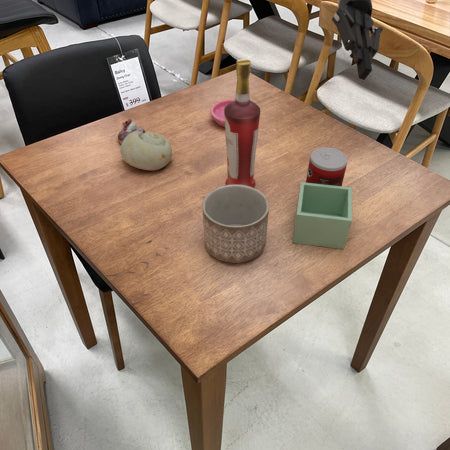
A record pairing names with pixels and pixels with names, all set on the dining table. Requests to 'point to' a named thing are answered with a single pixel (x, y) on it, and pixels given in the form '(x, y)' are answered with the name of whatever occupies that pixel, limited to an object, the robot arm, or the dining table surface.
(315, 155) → the canned food
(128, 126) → the pinkish grey lump
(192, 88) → the dining table surface
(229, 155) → the liquor
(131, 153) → the seashell
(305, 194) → the box
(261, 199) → the planter
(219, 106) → the saucer
